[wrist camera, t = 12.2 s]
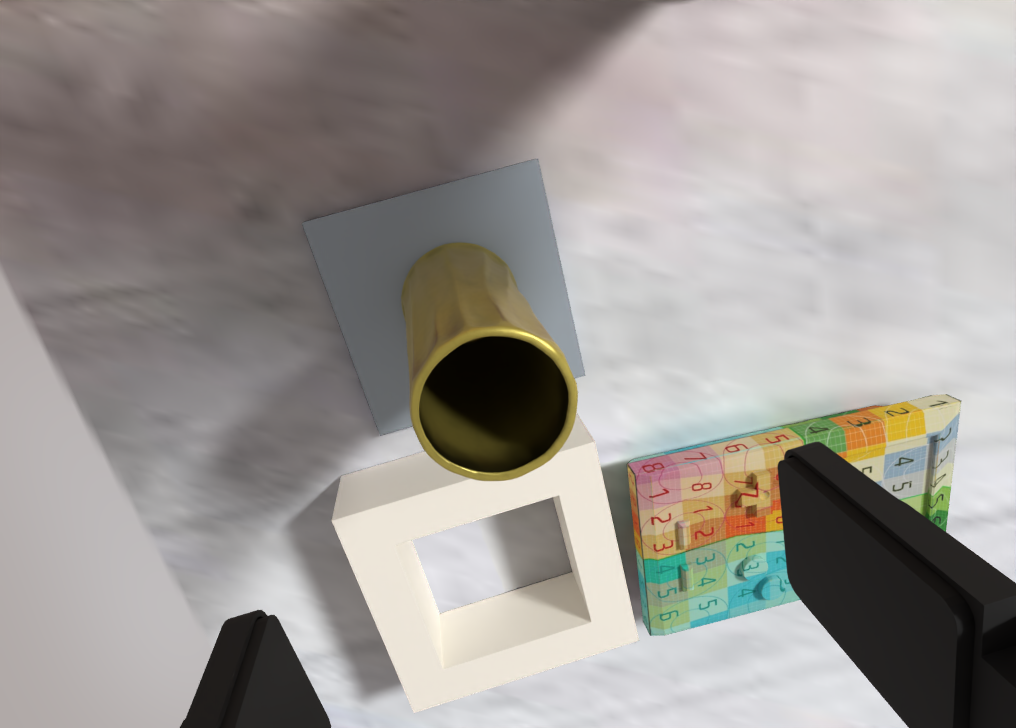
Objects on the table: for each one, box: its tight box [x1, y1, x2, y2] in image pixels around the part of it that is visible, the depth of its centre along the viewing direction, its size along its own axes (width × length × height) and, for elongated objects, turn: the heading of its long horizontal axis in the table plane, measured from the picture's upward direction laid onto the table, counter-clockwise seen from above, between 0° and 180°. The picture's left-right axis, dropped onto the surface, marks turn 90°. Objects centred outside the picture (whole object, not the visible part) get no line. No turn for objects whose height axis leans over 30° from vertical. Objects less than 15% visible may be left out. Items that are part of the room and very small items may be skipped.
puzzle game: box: [627, 394, 961, 636], centre depth 38 cm, size 12×5×20 cm
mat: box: [302, 159, 585, 436], centre depth 32 cm, size 12×12×1 cm
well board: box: [332, 412, 639, 713], centre depth 36 cm, size 14×14×4 cm
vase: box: [401, 242, 578, 481], centre depth 25 cm, size 6×6×14 cm
